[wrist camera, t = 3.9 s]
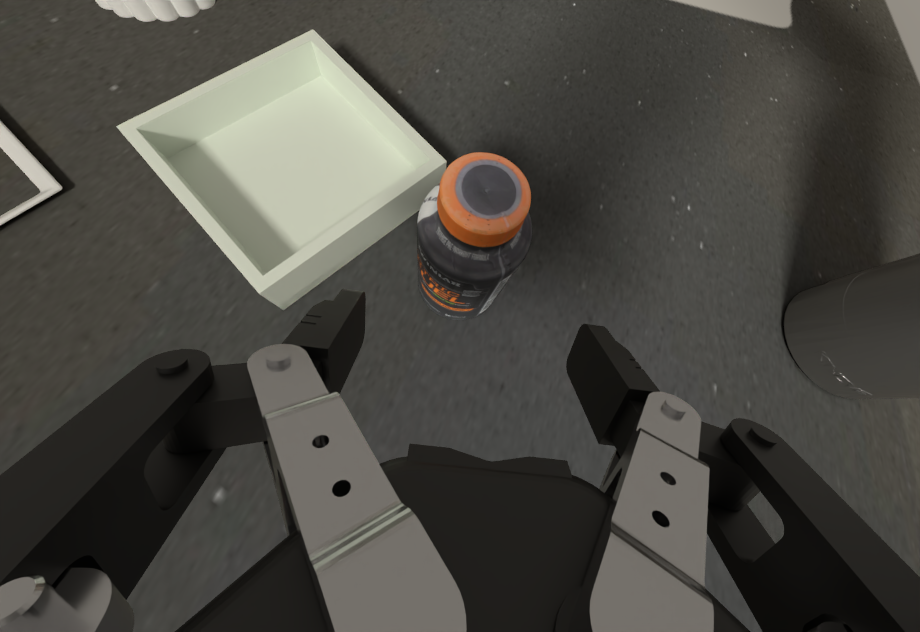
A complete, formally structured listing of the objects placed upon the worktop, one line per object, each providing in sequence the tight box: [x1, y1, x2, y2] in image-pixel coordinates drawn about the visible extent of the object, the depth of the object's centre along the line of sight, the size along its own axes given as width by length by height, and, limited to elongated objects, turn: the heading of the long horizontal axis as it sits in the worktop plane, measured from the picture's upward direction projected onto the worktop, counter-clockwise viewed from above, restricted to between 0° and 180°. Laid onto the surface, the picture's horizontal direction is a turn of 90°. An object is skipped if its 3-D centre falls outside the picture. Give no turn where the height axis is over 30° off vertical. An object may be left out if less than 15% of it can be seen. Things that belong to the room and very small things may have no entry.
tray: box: [116, 30, 447, 310], centre depth 24 cm, size 15×15×4 cm
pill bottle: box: [417, 152, 532, 320], centre depth 19 cm, size 6×6×11 cm
